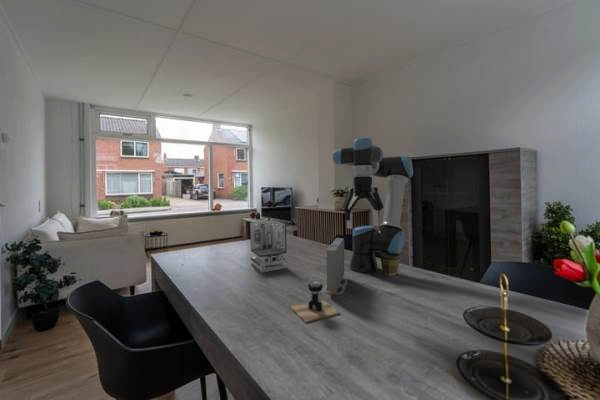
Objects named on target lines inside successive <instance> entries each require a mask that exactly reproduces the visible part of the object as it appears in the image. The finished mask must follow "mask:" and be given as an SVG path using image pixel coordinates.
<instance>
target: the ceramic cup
mask: <svg viewBox="0 0 600 400" xmlns="http://www.w3.org/2000/svg"><path fill="white" fill-rule="evenodd" d="M379 258H380V263H381V270H382V273H383V275H385V276H389V277H390V276H392V277H393V276H397V274H398V270H399V266H400V260H401V254H400V253H398V254H389V253H384V252H379Z"/></svg>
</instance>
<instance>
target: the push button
mask: <svg viewBox="0 0 600 400" xmlns="http://www.w3.org/2000/svg"><path fill="white" fill-rule="evenodd" d="M307 287H308V290H309V291H310V299H309V301H310V300H311V301H310V302H309V303H306V304H309V305H306V306H308V307H309V309H313V310H318V311H321V310H322V302H321V300H320V298H321V291H323V284H322V283H321V282H320V281H317V280H313V281H310V283H308V284H307Z"/></svg>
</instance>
